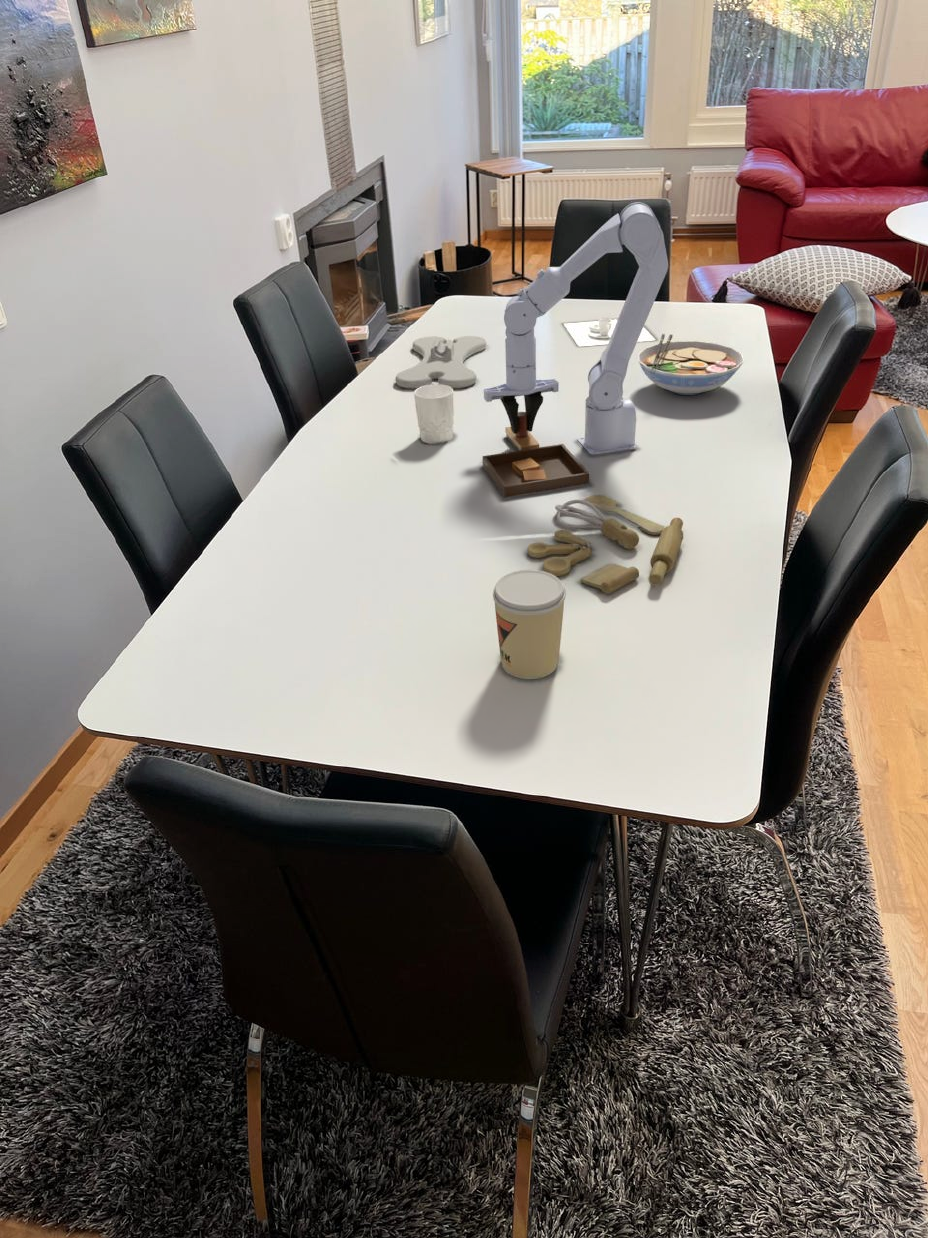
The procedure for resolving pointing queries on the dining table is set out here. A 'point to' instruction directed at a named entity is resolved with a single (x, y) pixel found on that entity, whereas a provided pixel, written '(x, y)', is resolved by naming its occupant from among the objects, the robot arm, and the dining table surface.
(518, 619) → the lidded cream canister
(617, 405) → the robot arm
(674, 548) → the toy baking set
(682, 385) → the ramen bowl
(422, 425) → the white cup
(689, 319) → the dining table surface
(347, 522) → the dining table surface
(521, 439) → the wooden stamp
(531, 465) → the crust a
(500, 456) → the tray
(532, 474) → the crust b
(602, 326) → the teacup and saucer
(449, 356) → the holder
